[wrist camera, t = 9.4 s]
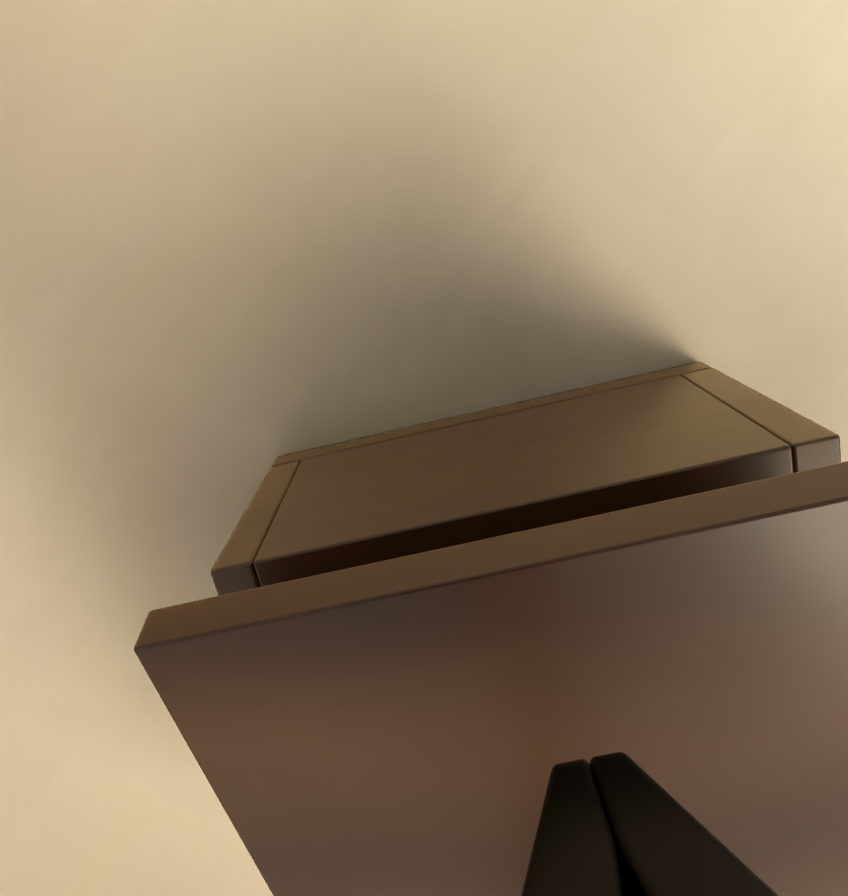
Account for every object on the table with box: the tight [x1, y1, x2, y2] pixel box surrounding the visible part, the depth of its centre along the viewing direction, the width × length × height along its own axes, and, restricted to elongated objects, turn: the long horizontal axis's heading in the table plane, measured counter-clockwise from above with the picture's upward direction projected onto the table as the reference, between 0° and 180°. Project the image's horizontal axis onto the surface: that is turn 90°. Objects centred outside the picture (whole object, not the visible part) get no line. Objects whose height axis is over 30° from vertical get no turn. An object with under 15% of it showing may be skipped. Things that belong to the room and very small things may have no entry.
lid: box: [134, 461, 848, 896], centre depth 13 cm, size 12×11×1 cm
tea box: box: [211, 362, 841, 596], centre depth 17 cm, size 12×11×6 cm
